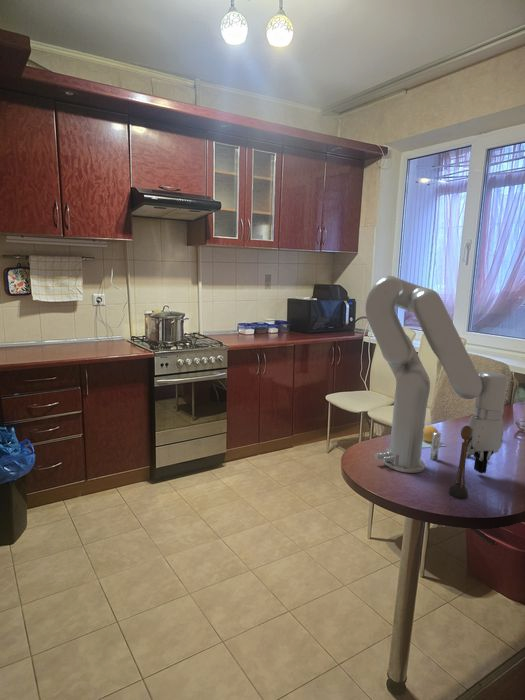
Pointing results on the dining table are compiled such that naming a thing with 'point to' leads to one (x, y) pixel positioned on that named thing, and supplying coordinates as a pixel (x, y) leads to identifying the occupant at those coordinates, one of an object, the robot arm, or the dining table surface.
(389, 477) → the dining table surface
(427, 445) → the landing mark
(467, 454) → the right post
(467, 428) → the wooden tabletop sculpture
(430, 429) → the ball
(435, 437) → the left post
